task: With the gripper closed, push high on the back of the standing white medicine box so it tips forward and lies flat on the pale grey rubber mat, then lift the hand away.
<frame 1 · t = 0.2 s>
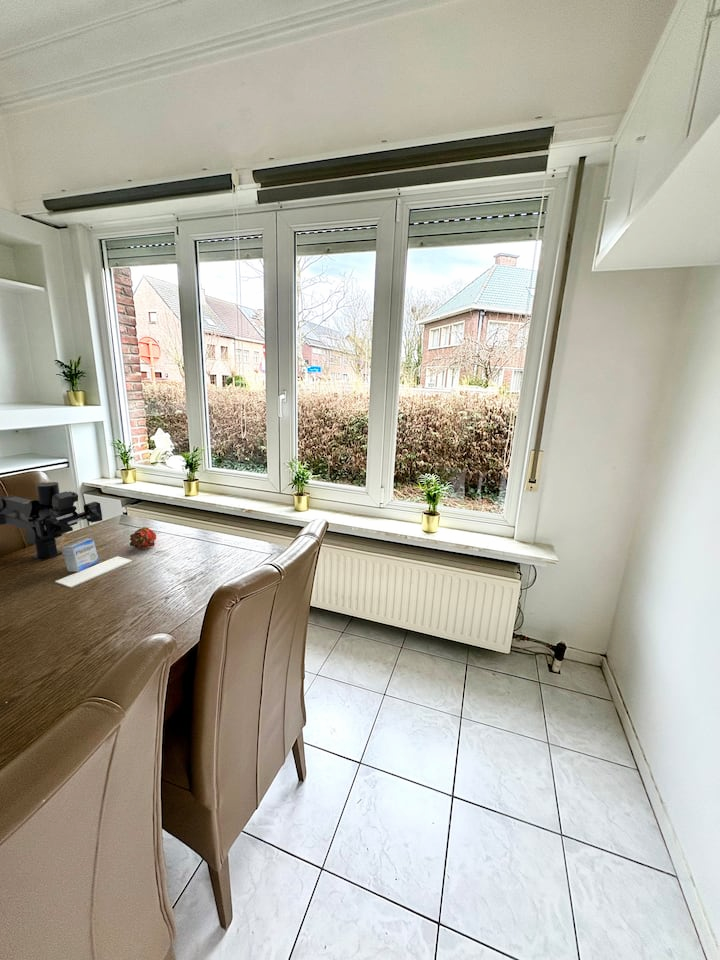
hand: (87, 523, 121), 16 cm above the table, tool horizontal, fingers open, 9 cm apart
dragon fruit: (144, 547, 144), on the table
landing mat: (96, 571, 125), on the table
medicine box: (84, 567, 127), on the table, touching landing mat
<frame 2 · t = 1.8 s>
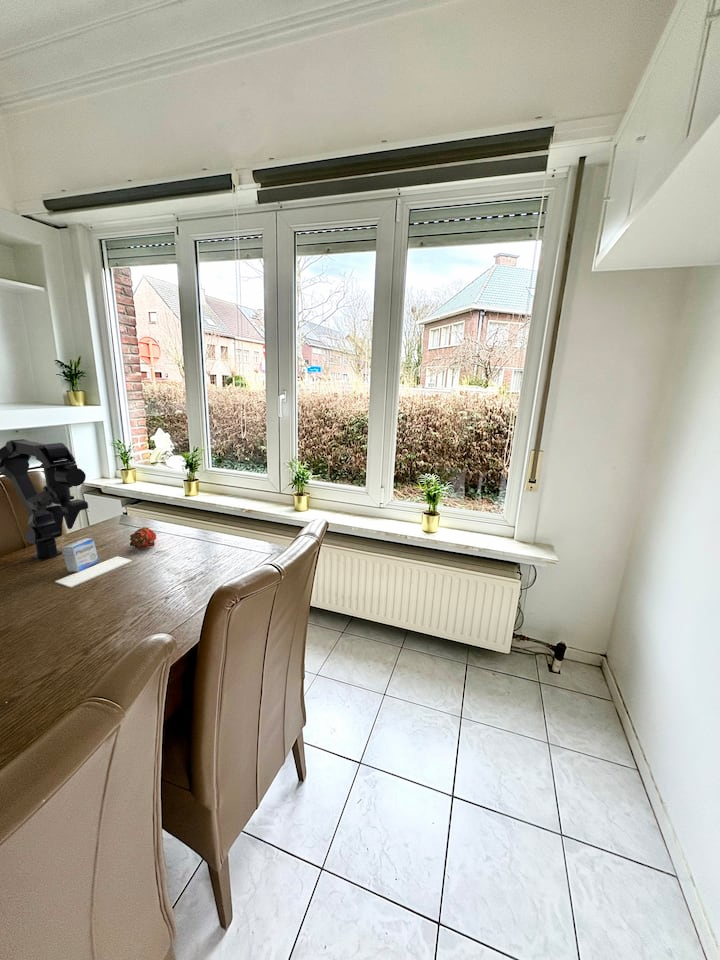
hand: (64, 527, 127), 13 cm above the table, tool pointing down, fingers open, 5 cm apart
nothing on the table moved.
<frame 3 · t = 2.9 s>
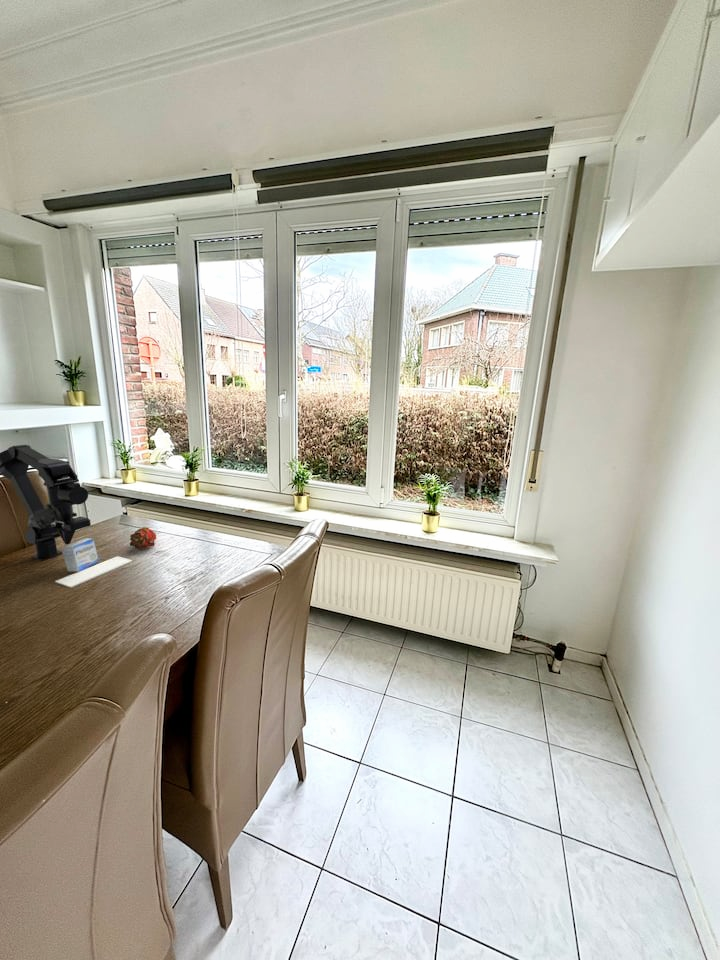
hand: (67, 543, 128), 7 cm above the table, tool pointing down, fingers closed
nothing on the table moved.
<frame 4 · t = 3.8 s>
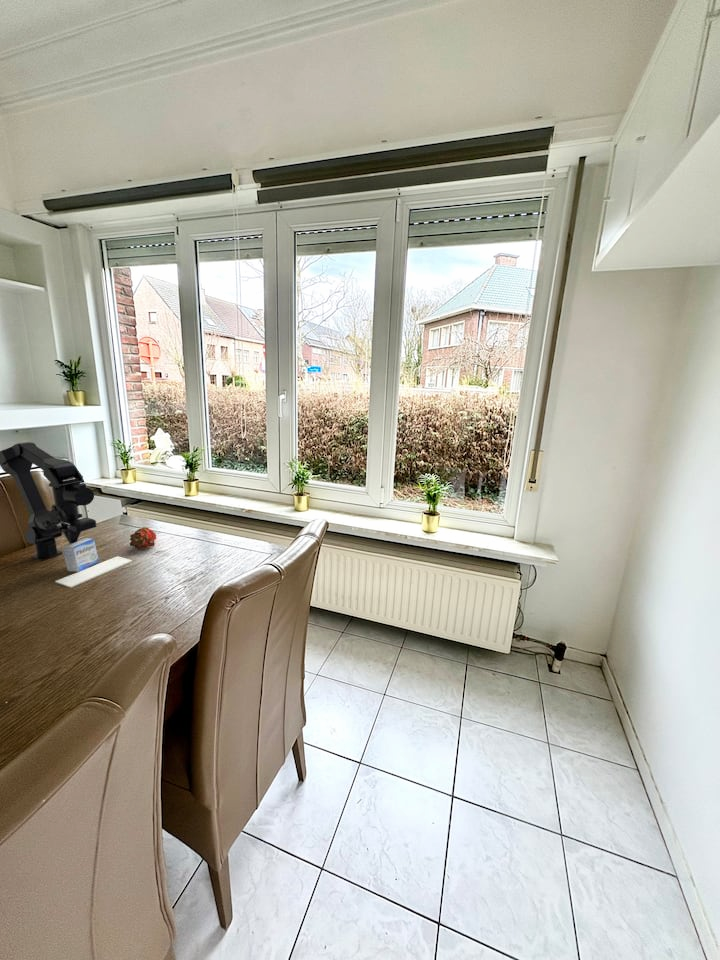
hand: (73, 545, 127), 7 cm above the table, tool pointing down, fingers closed
medicine box: (83, 567, 127), on the table, touching gripper, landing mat
everything else where it was.
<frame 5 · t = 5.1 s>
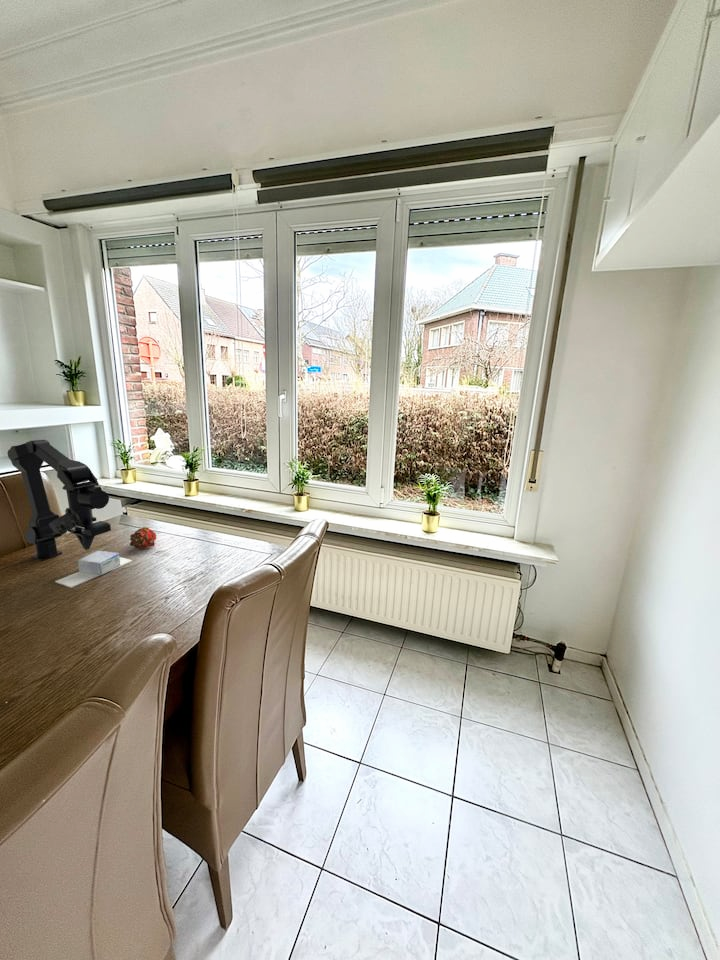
hand: (86, 549, 124), 7 cm above the table, tool pointing down, fingers closed
medicine box: (87, 560, 126), point 3 cm above the table, touching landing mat
everything else where it was.
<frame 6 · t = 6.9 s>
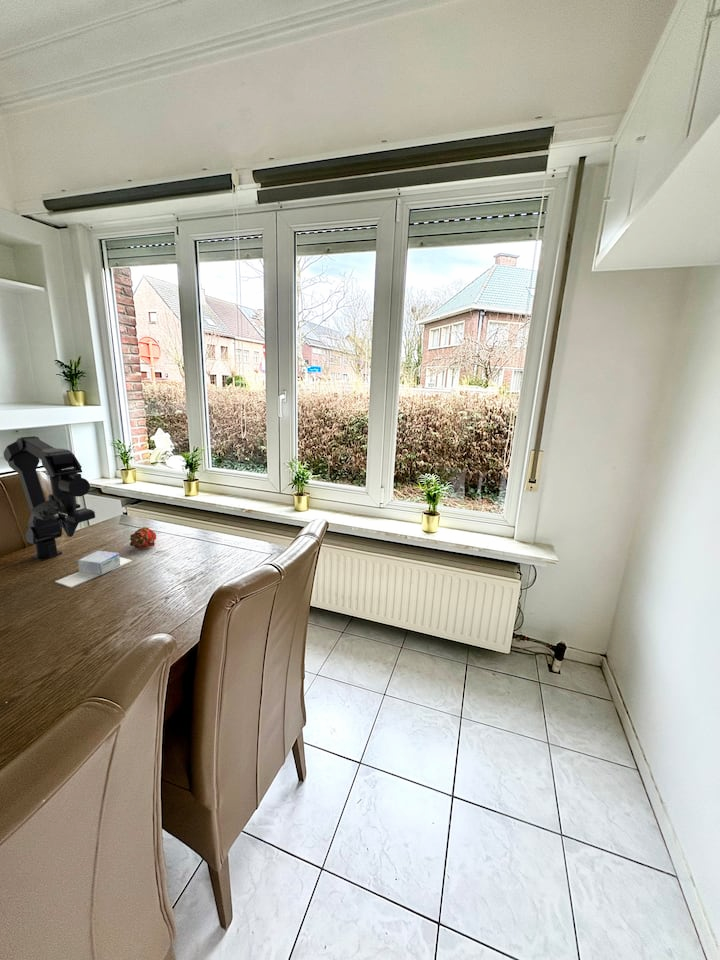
hand: (70, 536, 123), 12 cm above the table, tool pointing down, fingers closed
nothing on the table moved.
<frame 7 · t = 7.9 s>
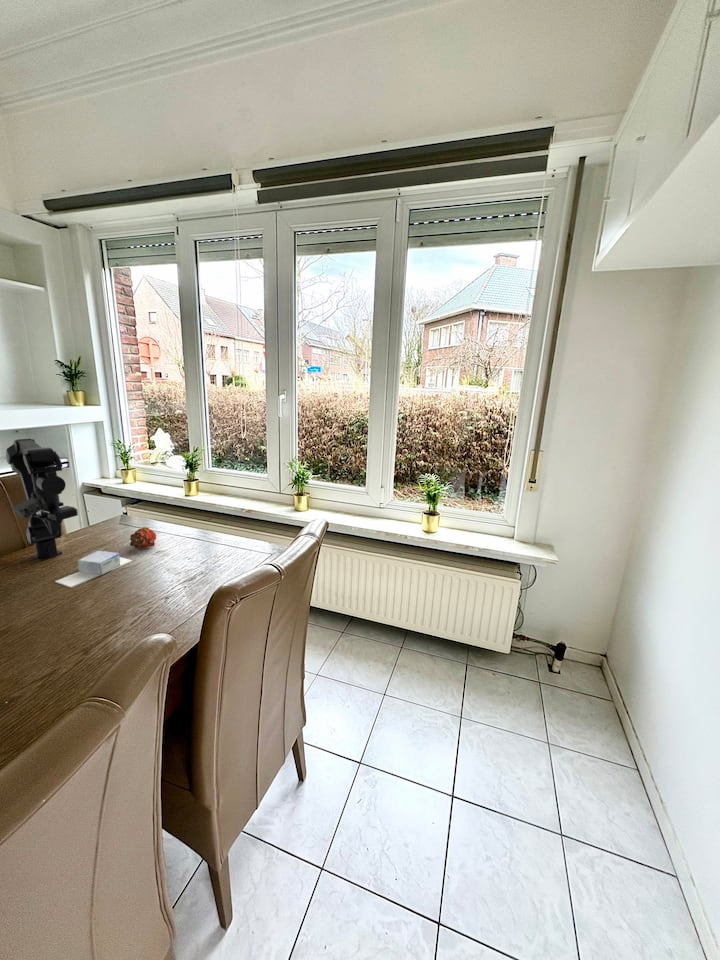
hand: (53, 534, 123), 12 cm above the table, tool pointing down, fingers closed
nothing on the table moved.
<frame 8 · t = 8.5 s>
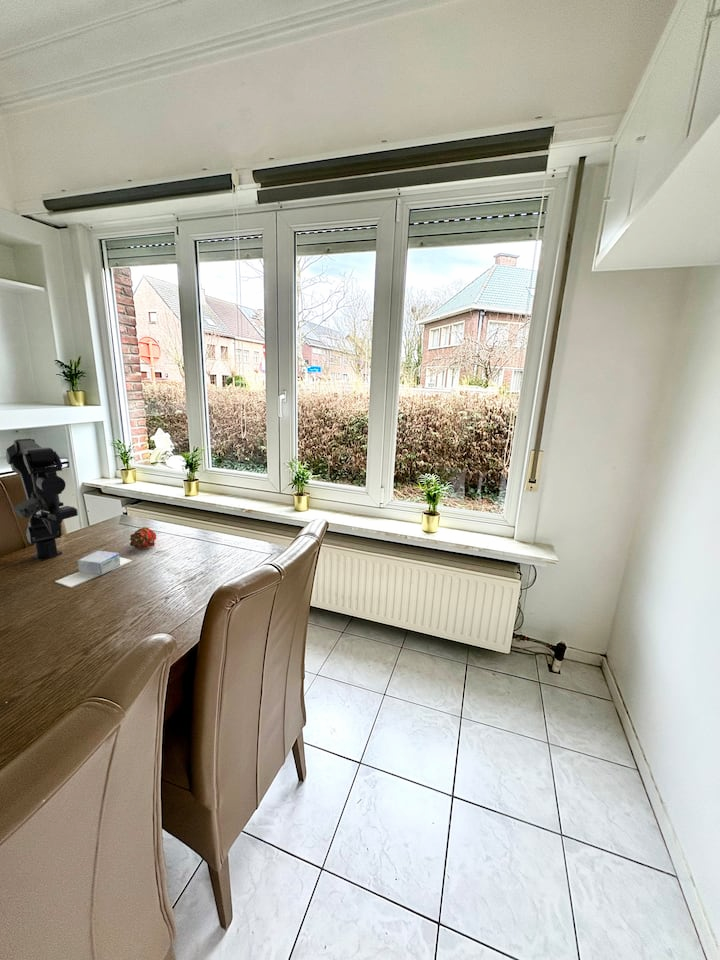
hand: (53, 534, 123), 12 cm above the table, tool pointing down, fingers closed
nothing on the table moved.
at the end: medicine box tilted 90°; medicine box inside the target area (1.1 cm from its centre), point 2.6 cm above the table; medicine box touching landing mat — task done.
